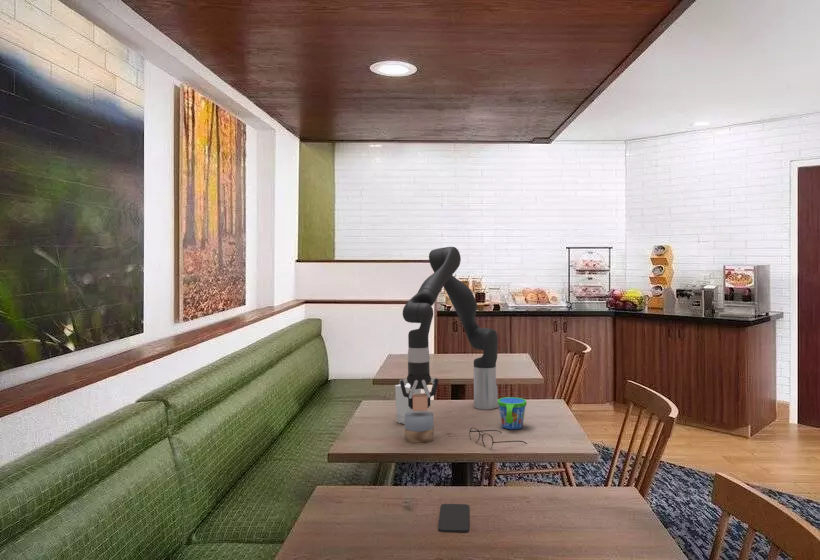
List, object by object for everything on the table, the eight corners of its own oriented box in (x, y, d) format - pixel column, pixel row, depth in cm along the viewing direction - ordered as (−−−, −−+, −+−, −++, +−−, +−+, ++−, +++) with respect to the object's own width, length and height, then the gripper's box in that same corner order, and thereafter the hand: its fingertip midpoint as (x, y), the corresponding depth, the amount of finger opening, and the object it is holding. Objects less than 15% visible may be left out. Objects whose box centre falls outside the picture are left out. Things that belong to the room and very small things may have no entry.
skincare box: (421, 423, 230) (421, 384, 229) (410, 426, 226) (409, 387, 225) (406, 419, 236) (406, 381, 235) (395, 422, 232) (394, 384, 231)
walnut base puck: (430, 434, 216) (430, 422, 216) (435, 443, 206) (435, 430, 206) (403, 436, 215) (403, 423, 215) (407, 445, 205) (406, 432, 205)
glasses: (468, 440, 210) (469, 426, 210) (502, 438, 217) (504, 425, 217) (491, 452, 197) (493, 436, 197) (527, 450, 204) (529, 435, 204)
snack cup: (503, 420, 233) (503, 394, 232) (530, 423, 229) (530, 396, 228) (492, 431, 218) (492, 403, 218) (521, 434, 214) (521, 406, 214)
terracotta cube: (425, 407, 214) (424, 393, 213) (427, 410, 209) (427, 396, 208) (411, 407, 213) (411, 393, 213) (413, 411, 208) (413, 397, 208)
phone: (469, 504, 155) (469, 530, 140) (469, 507, 155) (469, 534, 140) (440, 503, 156) (437, 529, 141) (440, 506, 156) (437, 533, 141)
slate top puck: (431, 422, 216) (430, 410, 216) (435, 430, 206) (435, 417, 206) (403, 423, 215) (403, 411, 215) (406, 432, 205) (406, 419, 205)
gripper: (436, 357, 215) (437, 404, 216) (396, 358, 213) (397, 406, 213) (440, 360, 207) (441, 409, 208) (399, 362, 205) (400, 412, 206)
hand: (419, 407), depth 211 cm, fingers closed on terracotta cube, 5 cm apart
